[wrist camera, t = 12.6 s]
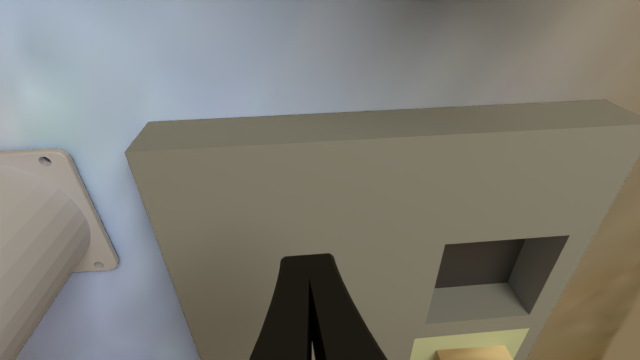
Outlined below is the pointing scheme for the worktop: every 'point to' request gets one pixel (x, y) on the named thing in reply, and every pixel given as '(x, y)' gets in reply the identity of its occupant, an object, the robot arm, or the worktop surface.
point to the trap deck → (386, 215)
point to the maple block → (474, 353)
